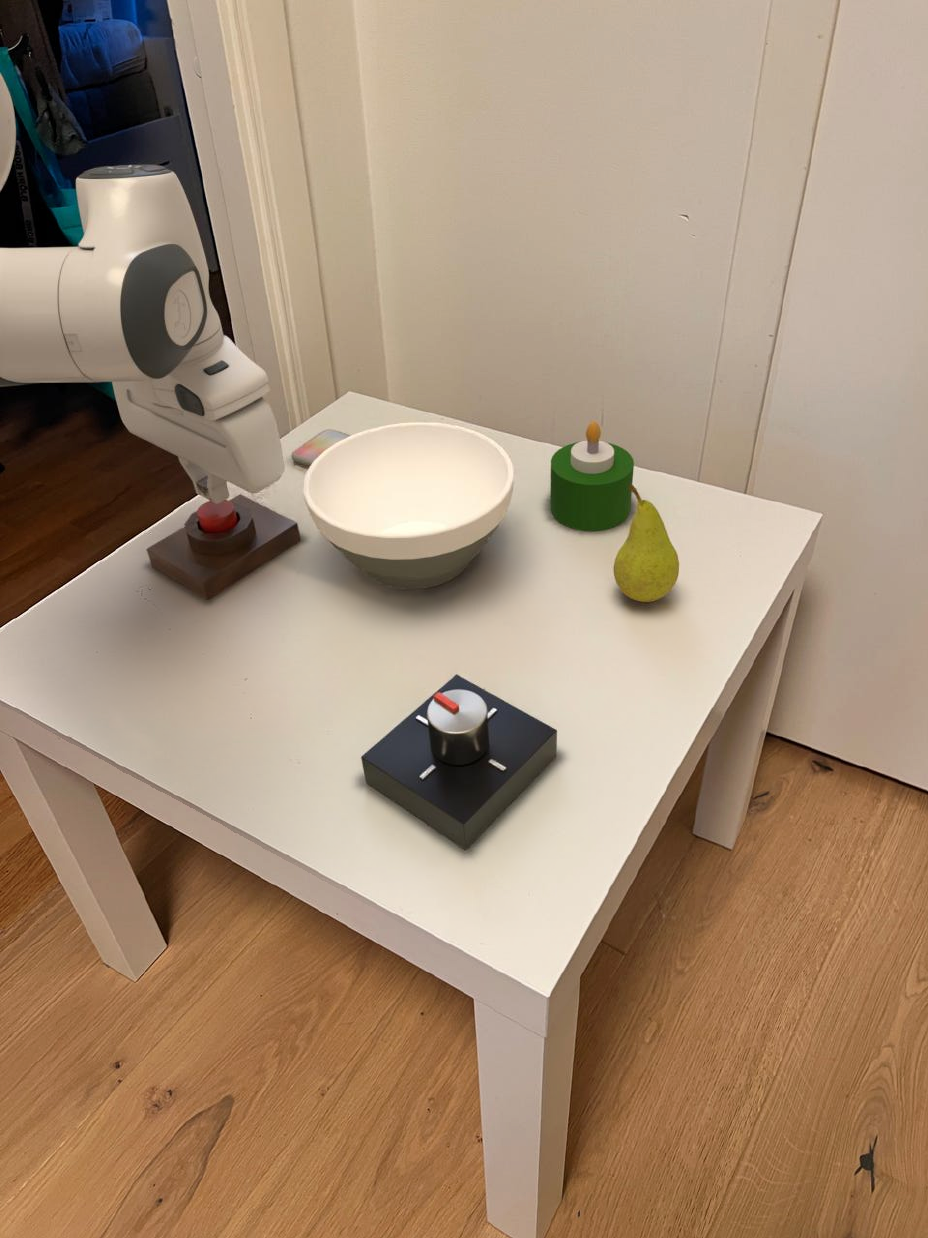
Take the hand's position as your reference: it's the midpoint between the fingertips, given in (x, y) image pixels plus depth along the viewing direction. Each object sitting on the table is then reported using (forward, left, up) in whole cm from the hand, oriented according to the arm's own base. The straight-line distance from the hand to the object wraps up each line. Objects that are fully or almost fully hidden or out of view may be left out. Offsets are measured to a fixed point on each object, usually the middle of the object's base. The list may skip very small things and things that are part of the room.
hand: (213, 496), depth 91 cm
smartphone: (+20, +1, -7) cm, 21 cm away
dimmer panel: (-7, -37, -7) cm, 38 cm away
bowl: (+11, -16, -7) cm, 21 cm away
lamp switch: (0, 0, -7) cm, 7 cm away
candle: (+28, -25, -7) cm, 38 cm away
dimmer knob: (-7, -37, -4) cm, 38 cm away
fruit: (+19, -37, -7) cm, 42 cm away
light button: (0, 0, -3) cm, 3 cm away
